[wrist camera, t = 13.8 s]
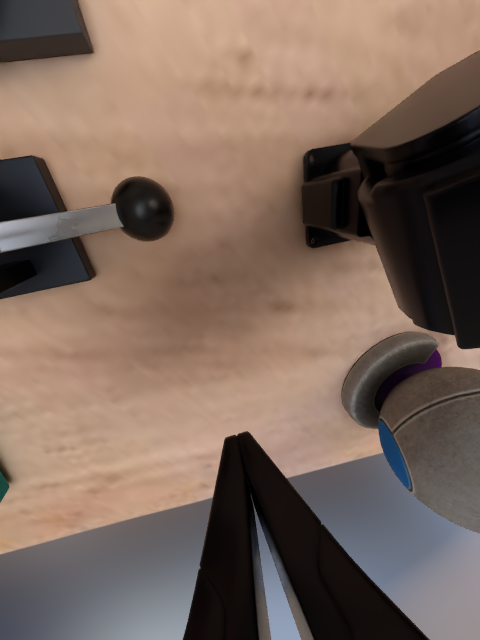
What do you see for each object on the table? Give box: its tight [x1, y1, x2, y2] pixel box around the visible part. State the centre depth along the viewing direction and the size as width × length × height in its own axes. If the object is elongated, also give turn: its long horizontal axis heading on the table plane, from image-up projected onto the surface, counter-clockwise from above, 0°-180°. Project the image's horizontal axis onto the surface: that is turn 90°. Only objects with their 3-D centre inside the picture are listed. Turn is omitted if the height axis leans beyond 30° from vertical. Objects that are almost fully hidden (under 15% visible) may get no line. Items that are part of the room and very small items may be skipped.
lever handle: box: [0, 177, 174, 253], centre depth 11 cm, size 14×3×3 cm, turn 99°
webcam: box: [342, 332, 480, 533], centre depth 22 cm, size 13×13×15 cm
